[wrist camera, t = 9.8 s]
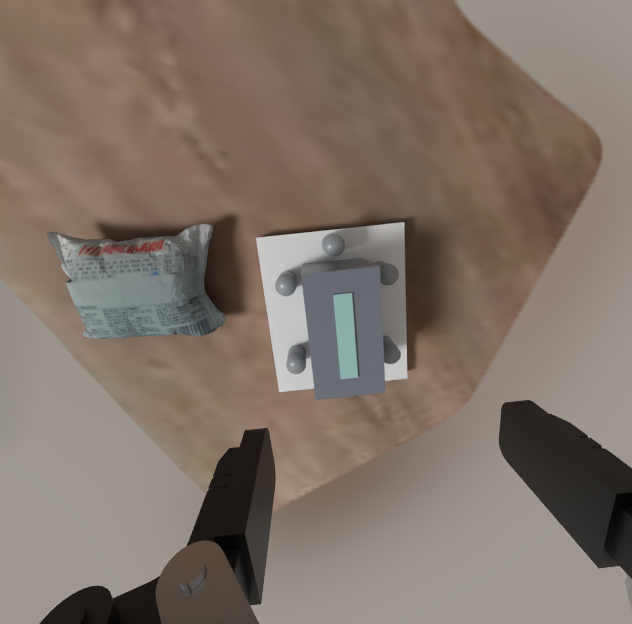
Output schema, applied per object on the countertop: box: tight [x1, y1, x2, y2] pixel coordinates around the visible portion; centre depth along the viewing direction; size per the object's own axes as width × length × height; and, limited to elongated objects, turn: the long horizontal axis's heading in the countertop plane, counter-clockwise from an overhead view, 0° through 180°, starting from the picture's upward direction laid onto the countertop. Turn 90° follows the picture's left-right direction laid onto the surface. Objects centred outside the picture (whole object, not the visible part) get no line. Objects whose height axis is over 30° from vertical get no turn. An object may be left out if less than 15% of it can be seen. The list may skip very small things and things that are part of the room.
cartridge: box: [301, 258, 386, 400], centre depth 22 cm, size 9×5×6 cm, turn 6°
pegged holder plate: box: [256, 222, 407, 392], centre depth 25 cm, size 14×12×4 cm
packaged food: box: [47, 223, 226, 339], centre depth 23 cm, size 9×12×5 cm
